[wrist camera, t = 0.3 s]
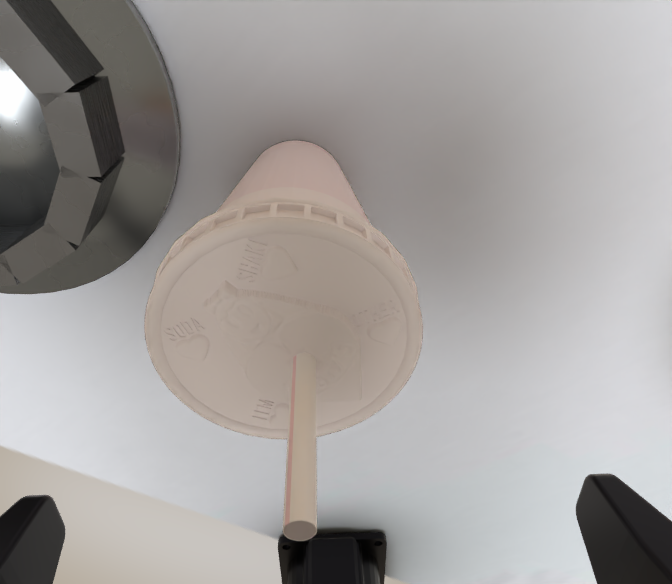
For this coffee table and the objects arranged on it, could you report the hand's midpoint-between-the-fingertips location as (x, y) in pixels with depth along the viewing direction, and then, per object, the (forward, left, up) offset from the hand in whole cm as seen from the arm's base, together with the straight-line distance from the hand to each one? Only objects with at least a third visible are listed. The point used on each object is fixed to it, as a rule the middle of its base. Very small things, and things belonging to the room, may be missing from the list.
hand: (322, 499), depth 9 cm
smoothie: (0, +1, -14) cm, 14 cm away
